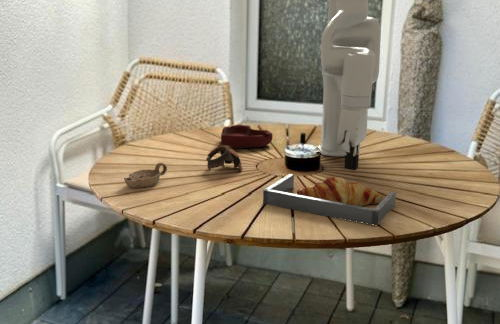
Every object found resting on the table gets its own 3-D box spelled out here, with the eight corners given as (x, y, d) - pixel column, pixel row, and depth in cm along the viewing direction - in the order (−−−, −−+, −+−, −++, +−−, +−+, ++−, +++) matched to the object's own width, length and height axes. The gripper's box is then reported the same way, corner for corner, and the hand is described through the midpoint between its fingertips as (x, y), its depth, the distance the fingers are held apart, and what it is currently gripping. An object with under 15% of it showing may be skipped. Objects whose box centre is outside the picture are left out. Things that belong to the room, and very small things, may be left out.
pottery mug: (244, 177, 166) (230, 154, 162) (214, 189, 168) (200, 167, 164) (246, 155, 176) (233, 133, 172) (218, 167, 178) (204, 145, 175)
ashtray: (205, 144, 198) (205, 129, 197) (241, 137, 209) (241, 123, 208) (240, 155, 186) (240, 140, 184) (276, 147, 196) (277, 132, 195)
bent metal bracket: (289, 186, 157) (289, 173, 156) (394, 205, 144) (396, 192, 143) (263, 203, 144) (263, 189, 143) (376, 226, 131) (377, 211, 130)
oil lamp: (133, 193, 150) (132, 174, 149) (117, 186, 155) (116, 168, 154) (174, 182, 159) (174, 165, 157) (158, 176, 164) (158, 159, 163)
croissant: (378, 213, 149) (378, 181, 151) (388, 208, 139) (387, 174, 141) (294, 210, 149) (295, 178, 150) (298, 204, 139) (298, 171, 141)
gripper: (351, 94, 159) (347, 158, 165) (331, 105, 146) (327, 174, 152) (378, 97, 155) (373, 163, 161) (360, 108, 143) (355, 179, 149)
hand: (351, 168), depth 157 cm, fingers closed
